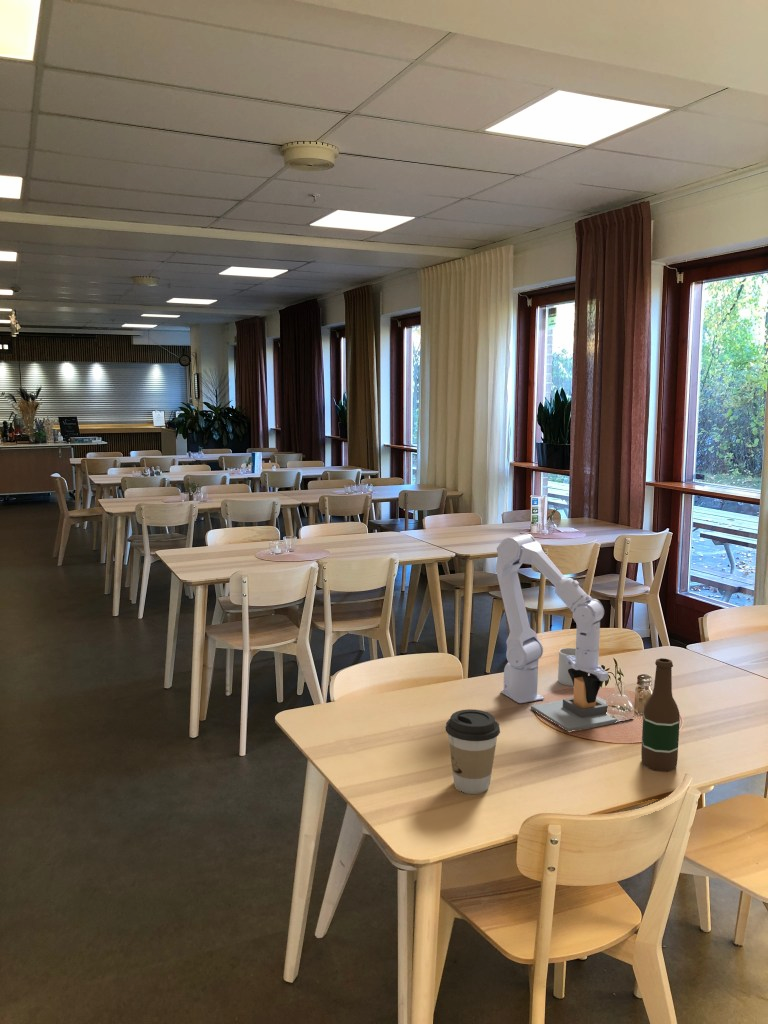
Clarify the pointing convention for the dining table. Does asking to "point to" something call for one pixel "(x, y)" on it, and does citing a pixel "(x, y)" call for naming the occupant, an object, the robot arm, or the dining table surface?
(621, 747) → the dining table surface
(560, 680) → the cup
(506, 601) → the robot arm
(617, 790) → the dining table surface
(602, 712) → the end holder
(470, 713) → the coffee cup
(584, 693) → the orange rectangular block
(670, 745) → the beer bottle
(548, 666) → the dining table surface
